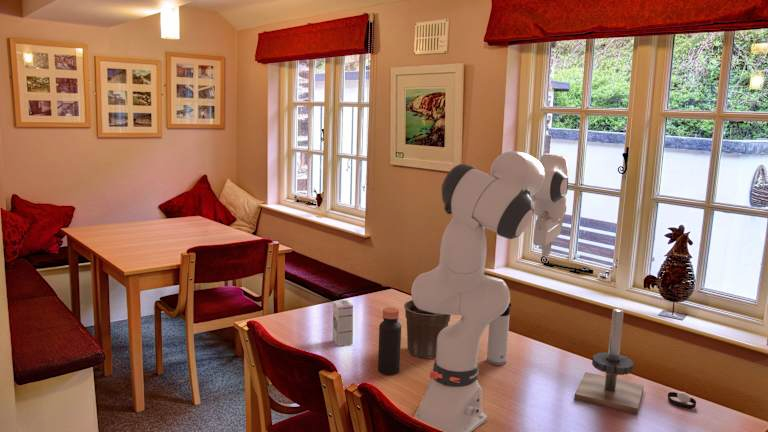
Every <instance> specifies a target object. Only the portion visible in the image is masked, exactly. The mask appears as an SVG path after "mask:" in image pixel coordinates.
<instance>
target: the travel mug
mask: <svg viewBox="0 0 768 432" xmlns="http://www.w3.org/2000/svg"><path fill="white" fill-rule="evenodd" d="M510 308H512V303H510V302H509V305H508V308H507V309H506V311H505V312H504V313H503V314H502V315H500V316H498V317H497V318H495V319H494V320H493V321H491V322H490V323H489V324H488V336H487V351H486V361H487V363H489V364H490V365H493V366H504V365H505V364H506V363H507V357H508V356H507V355H508V354H507V353H508V340H509V339H508V338H509V330H510V329H509V328H510V315H511V314H510V312H511V309H510Z"/></svg>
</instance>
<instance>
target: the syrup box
mask: <svg viewBox="0 0 768 432" xmlns="http://www.w3.org/2000/svg"><path fill="white" fill-rule="evenodd" d="M353 337H354V304H352V303H351V302H350V301H349V300H348V299H343V300H342V299H341V300H334V301H333V302H332V342H333V343H334V344H335V343H336V344H335V345H336V346H337V347H343V346H342V345H347V346H351V344H353V343H354V342H353V341H354V338H353ZM353 345H354V344H353Z"/></svg>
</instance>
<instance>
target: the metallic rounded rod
mask: <svg viewBox="0 0 768 432" xmlns="http://www.w3.org/2000/svg"><path fill="white" fill-rule="evenodd" d="M624 313H625V311H624V310H622V309H617V308H614V309H613V310H612V314H611V324H610V334H609V343H608V351H607V353H608V360H607V361H609V362H612V363H619V362H618V361H619V354H620V351H621V342H622V341H621V340H622V333H623V331H622V330H623V323H624ZM605 376H606V379H605V390H607V391H615V389H616V380H617V379H618V375H616V374H615V373H614V374H609V373H605Z"/></svg>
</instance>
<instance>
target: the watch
mask: <svg viewBox="0 0 768 432" xmlns="http://www.w3.org/2000/svg"><path fill="white" fill-rule="evenodd" d="M672 398H676V399H678V400H679V401H680V402H679V401H677V400H674V399H672ZM667 401H668V402H669V403H670V404H672V405H673V406H676V407H678V408H683V409H685V408H686V409H685V410H694V409H696V406H697V400H696V399H694V398H692V397H691V396H690V395H689V394H688V393H686V392H685V391H680V392H676V391H675V392H673V391H670V392H668V393H667ZM688 403H689V404H688ZM690 403H691V404H690Z"/></svg>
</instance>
